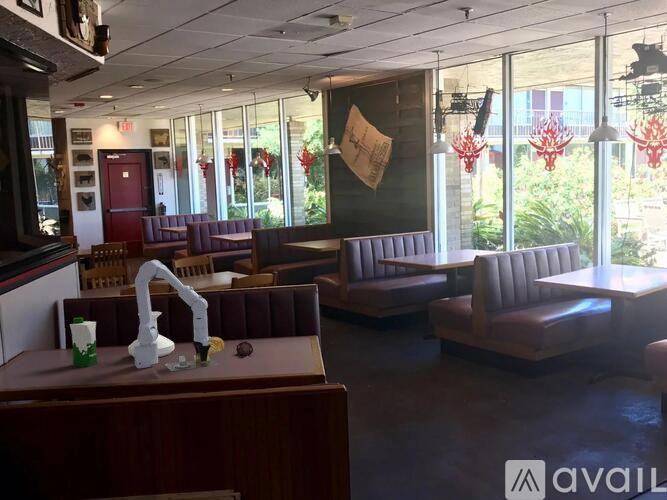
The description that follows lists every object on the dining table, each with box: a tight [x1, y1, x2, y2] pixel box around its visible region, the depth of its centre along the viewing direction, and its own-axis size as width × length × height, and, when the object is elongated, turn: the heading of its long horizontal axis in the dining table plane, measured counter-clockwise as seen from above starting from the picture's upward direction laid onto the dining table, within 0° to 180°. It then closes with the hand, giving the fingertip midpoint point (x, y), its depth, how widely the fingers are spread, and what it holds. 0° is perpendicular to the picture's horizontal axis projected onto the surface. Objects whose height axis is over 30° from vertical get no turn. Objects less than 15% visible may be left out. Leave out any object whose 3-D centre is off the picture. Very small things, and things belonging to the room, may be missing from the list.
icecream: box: [235, 341, 254, 357], centre depth 297 cm, size 7×7×15 cm
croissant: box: [208, 336, 225, 355], centre depth 308 cm, size 21×10×8 cm, turn 178°
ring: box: [193, 353, 210, 363], centre depth 285 cm, size 6×6×3 cm
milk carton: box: [69, 316, 98, 368], centre depth 289 cm, size 9×9×20 cm
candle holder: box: [127, 311, 175, 358], centre depth 302 cm, size 20×20×19 cm
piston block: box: [164, 355, 221, 372], centre depth 280 cm, size 20×14×5 cm
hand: (202, 359), depth 285 cm, fingers closed on ring, 6 cm apart
